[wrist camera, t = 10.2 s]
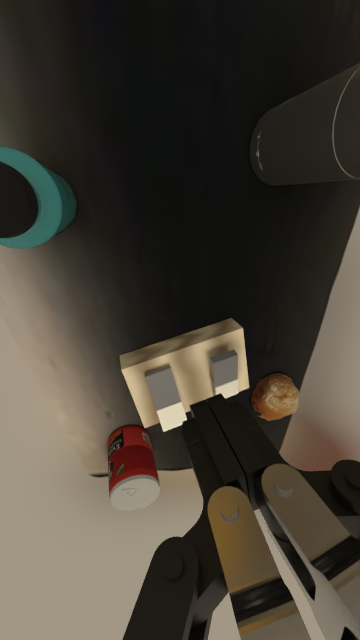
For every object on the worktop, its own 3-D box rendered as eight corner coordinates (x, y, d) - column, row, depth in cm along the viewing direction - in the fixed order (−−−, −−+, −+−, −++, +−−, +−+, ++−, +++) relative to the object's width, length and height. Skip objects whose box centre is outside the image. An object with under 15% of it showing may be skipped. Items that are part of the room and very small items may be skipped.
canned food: (113, 422, 47) (117, 479, 37) (154, 424, 50) (167, 478, 41) (102, 453, 49) (103, 513, 40) (142, 453, 52) (152, 510, 43)
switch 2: (231, 345, 40) (238, 355, 38) (232, 383, 47) (238, 393, 45) (207, 354, 39) (213, 364, 38) (211, 391, 46) (216, 401, 44)
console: (231, 317, 45) (242, 327, 41) (238, 376, 51) (249, 388, 48) (119, 355, 42) (121, 369, 38) (141, 412, 48) (145, 429, 45)
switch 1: (168, 362, 41) (171, 368, 39) (184, 414, 44) (187, 422, 41) (143, 371, 40) (145, 377, 38) (161, 423, 43) (163, 431, 41)
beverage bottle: (62, 240, 33) (23, 287, 15) (6, 206, 30) (-121, 215, 12) (89, 195, 32) (80, 190, 14) (34, 154, 29) (-64, 85, 11)
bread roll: (281, 381, 61) (314, 391, 54) (263, 421, 58) (296, 437, 52) (259, 361, 56) (292, 369, 50) (238, 404, 54) (271, 419, 47)
